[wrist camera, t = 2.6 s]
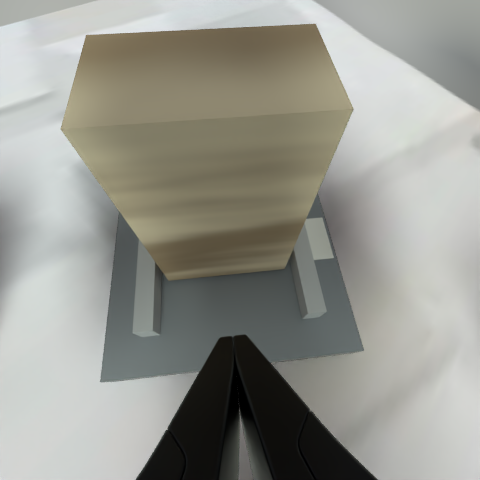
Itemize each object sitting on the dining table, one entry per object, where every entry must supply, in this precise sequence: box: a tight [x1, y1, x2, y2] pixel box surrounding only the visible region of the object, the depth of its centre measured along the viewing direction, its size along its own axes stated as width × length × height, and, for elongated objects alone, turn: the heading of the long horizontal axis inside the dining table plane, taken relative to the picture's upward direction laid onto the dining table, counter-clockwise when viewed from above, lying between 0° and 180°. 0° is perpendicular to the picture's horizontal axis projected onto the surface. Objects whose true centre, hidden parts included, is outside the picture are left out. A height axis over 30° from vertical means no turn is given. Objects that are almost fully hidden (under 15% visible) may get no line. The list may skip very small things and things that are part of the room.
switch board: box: [100, 193, 364, 382], centre depth 19 cm, size 22×14×3 cm, turn 6°
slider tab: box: [61, 24, 353, 281], centre depth 12 cm, size 4×7×11 cm, turn 96°
